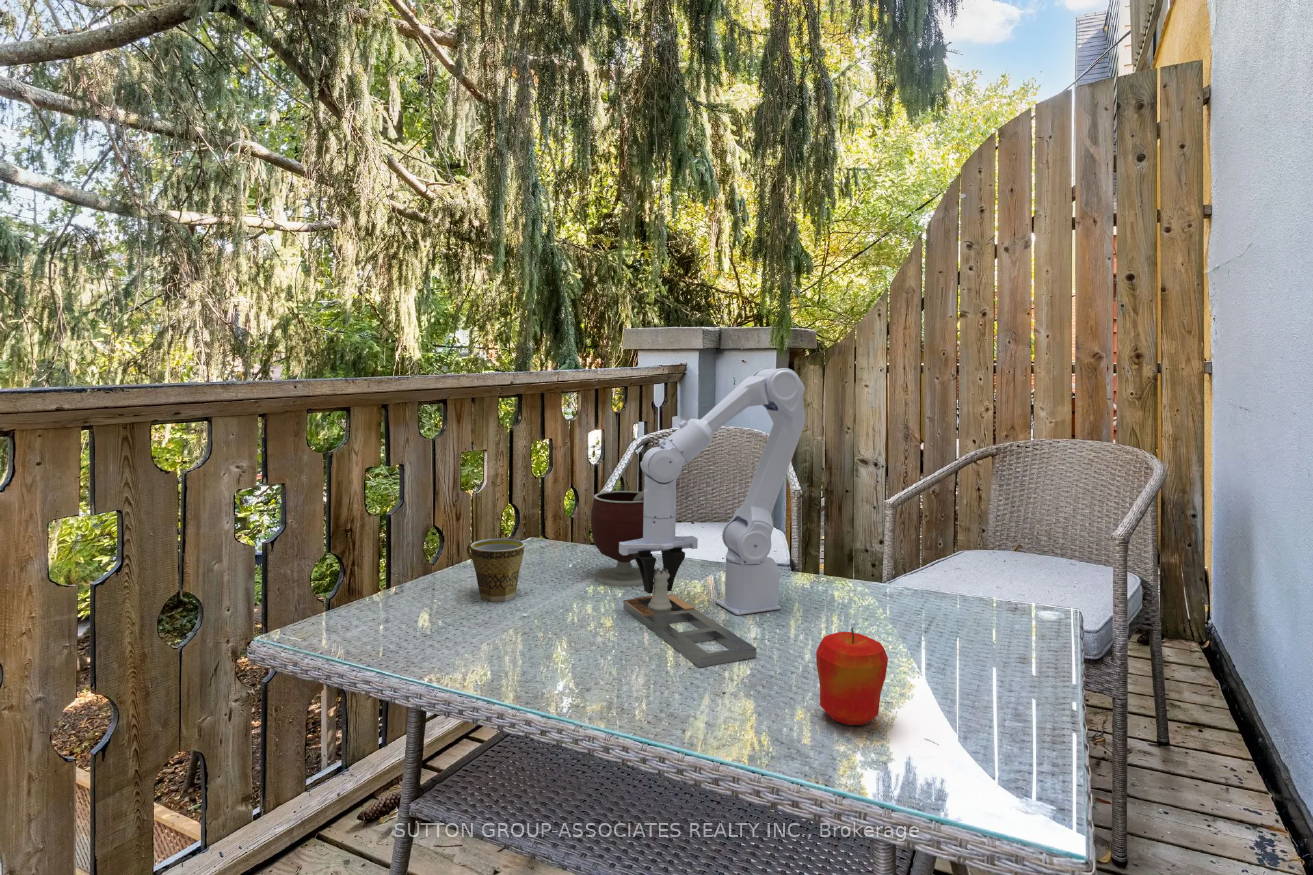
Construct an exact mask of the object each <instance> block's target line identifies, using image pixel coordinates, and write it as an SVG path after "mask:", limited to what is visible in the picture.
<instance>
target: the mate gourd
mask: <svg viewBox="0 0 1313 875" xmlns="http://www.w3.org/2000/svg"><path fill="white" fill-rule="evenodd" d="M643 510H644V490H642V491H631V490H620V491H619V490H616V491H615V490H614V491H604V492H599V493H596V494H594V495H593V501H592V506H591V512H590V529H591V530H590V531H591V535H592V536H591V537H592V542H593V544H594V545H595V548H597V550H598V551H599V553H600V554H602V555H603V556H605V557H607V558H610V559H612V560H614V561H616V563H617V564H616V565H615V567H607V568H602V569H599V570H597V571H596V572H595V573H594V574H593V575H594V580H595V581H596V582H597V583H599V584H603V585H606V586H613V587H636V586H641V585H643V586H644V584H643V580H642V576H641V573H640V570H639V567H634V566H633V565H632V563H631V561H633V560H635V558H634V557H633V554H629V555H622V554H620V553H619V542H626V541H631V540H636V539H641V538H643Z"/></svg>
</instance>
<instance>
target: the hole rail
mask: <svg viewBox="0 0 1313 875" xmlns="http://www.w3.org/2000/svg"><path fill="white" fill-rule="evenodd" d="M652 596H653V595H647V596H638V597H633V598H631V599H624V600H623V606H622V608H623V610H625V611H626V612H628V613H629V614H630V615H631V616H632V617H634V618H635V619H636V620H637V621H638V622H640V623H642V624H643V625H644V626H645V627H647V628H648V629H649V630H650V631H651V632H653V633H654V634H655V635H656V636H658V637H659V638H660V639H662V640H663V641H664V642H666V643H667V644H669V646H671V647H672V648H673V649H675V650H676V651H677V652H679V653H680V654H681V655H682V656H684V657H685V658H686V659H688V660H689V661H690V662H691V663H693V665H695V666H696V667H697V668H704V667H709V666H714V665H715V666H716V665H723V664H727V663H728V664H729V663H734V662H738V661H737V660H740V661H744V660H743V659H746V660H748V659H747V658H751V659H754V658H753V657H756V658H757V647H756V646H754V645H752V644H751V643H749V642H748V641H745V639H743V638H741V637H740V636H738V635H737V634H735V633H733V632H732V631H730V630H729V629H728V628H726V627H724V626H722V625H721V624H719V623H718V622H716V621H715V620H713V619H711V617H708V616H707V615H705V614H704V613H702V612H701V611H699V610H697V609H696V607H694V606H693V605H691V604H690V603H688V602H687V601H685V600H684V599H682V598H680V597H679V596H677V595H676V594H673V593H671V594H668V599H669V600H670V603H671V605H672V608H671V609H670V610H672V612H666V613H659V614H654V612H652V611H651V610H650V609H649V608H648V604H649V603H650V602H651V599H652ZM685 622H689V623H690V624H692V625H693V626H695V627H696V628H698V629H693V630H687V631H686V630H684V631H678V630H677V629H676V628H674V626H671V625H670V624H677V623H678V624H679V623H685ZM708 641H717V642H718V643H720V644H721V645H723V646H725V647H726V650H718V651H713V652H707V651H706V650H704V649H703V648H702V647H700V646H699V645H698V644H697V643H702V642H708Z"/></svg>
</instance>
